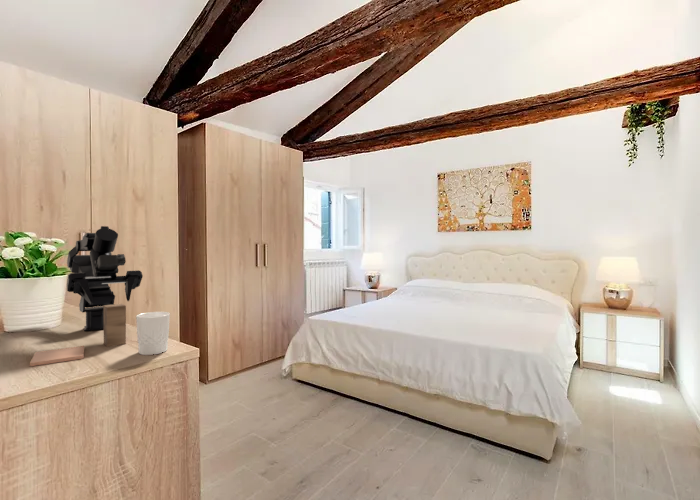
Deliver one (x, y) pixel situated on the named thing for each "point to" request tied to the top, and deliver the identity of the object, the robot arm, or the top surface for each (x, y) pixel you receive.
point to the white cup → (152, 332)
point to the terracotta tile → (57, 355)
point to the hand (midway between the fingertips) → (110, 302)
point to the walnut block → (114, 325)
